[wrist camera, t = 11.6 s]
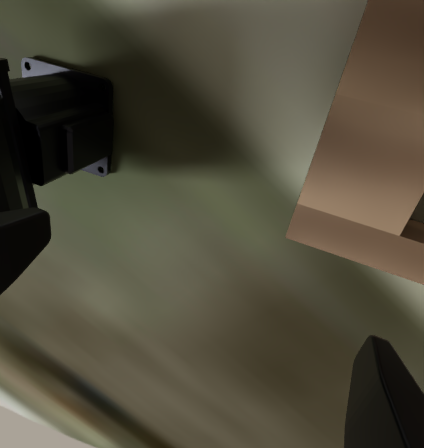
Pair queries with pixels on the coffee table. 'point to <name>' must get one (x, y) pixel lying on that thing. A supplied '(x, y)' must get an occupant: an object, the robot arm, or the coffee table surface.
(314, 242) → the keyhole board
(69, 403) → the coffee table surface
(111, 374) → the coffee table surface
